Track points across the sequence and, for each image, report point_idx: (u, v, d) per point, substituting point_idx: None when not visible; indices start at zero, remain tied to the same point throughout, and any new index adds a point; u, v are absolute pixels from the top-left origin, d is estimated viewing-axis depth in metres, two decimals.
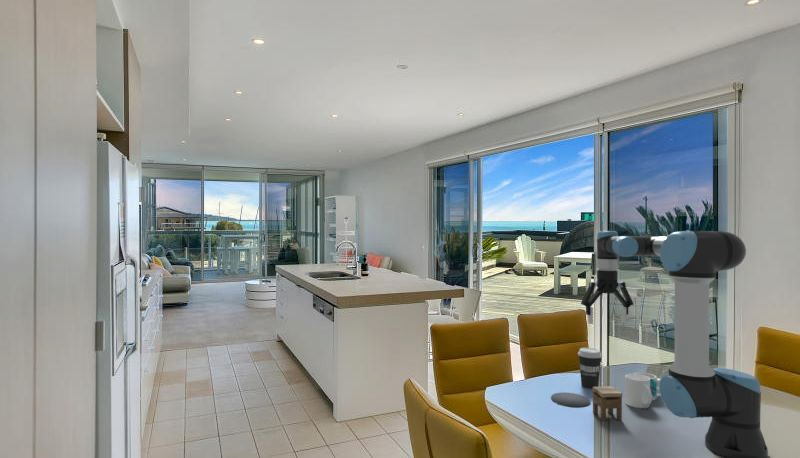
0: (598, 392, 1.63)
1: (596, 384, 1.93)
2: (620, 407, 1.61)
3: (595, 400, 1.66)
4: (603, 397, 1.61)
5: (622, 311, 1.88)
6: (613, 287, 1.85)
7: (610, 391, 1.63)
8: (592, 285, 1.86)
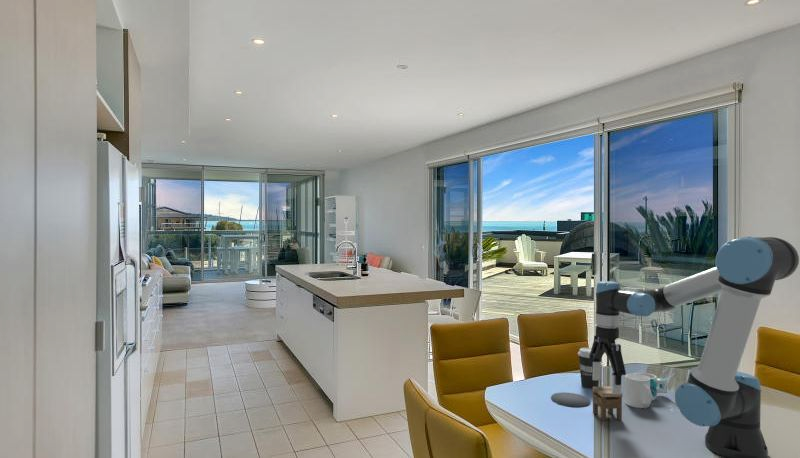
0: (598, 392, 1.63)
1: (596, 384, 1.93)
2: (620, 407, 1.61)
3: (595, 400, 1.66)
4: (603, 397, 1.61)
5: None
6: (603, 346, 1.63)
7: (610, 391, 1.63)
8: (594, 338, 1.71)
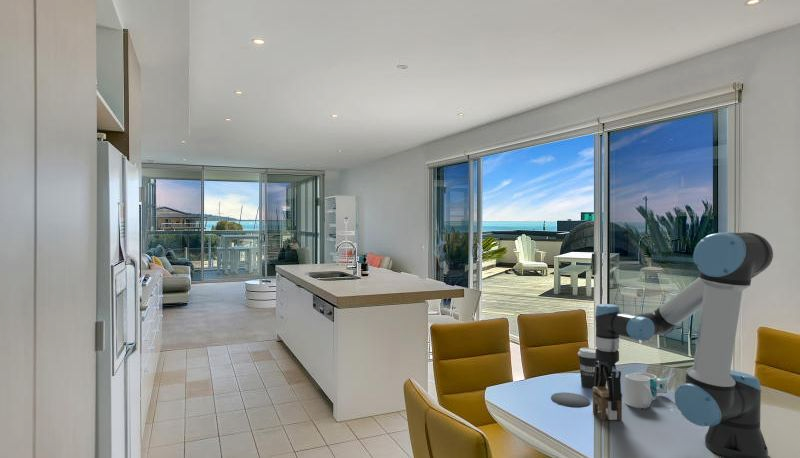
0: (598, 392, 1.63)
1: None
2: (620, 407, 1.61)
3: (595, 400, 1.66)
4: (603, 397, 1.61)
5: None
6: (603, 370, 1.63)
7: None
8: (595, 364, 1.70)
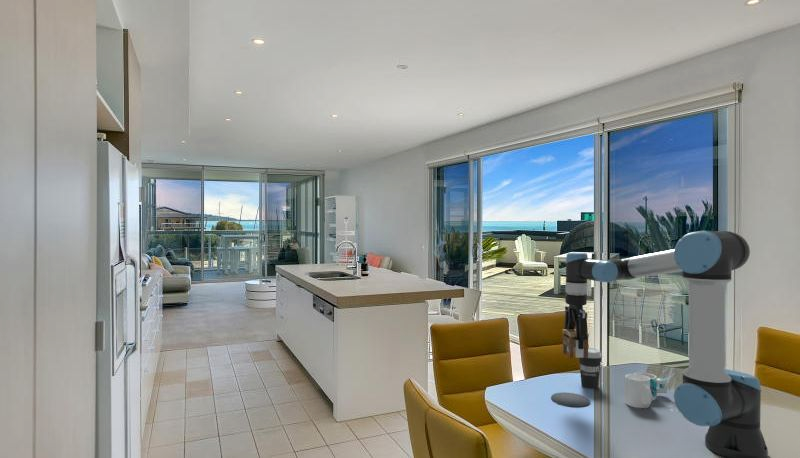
0: (567, 333, 1.77)
1: (596, 384, 1.93)
2: (587, 346, 1.74)
3: (564, 341, 1.79)
4: (571, 337, 1.74)
5: None
6: (572, 312, 1.76)
7: None
8: (565, 309, 1.84)
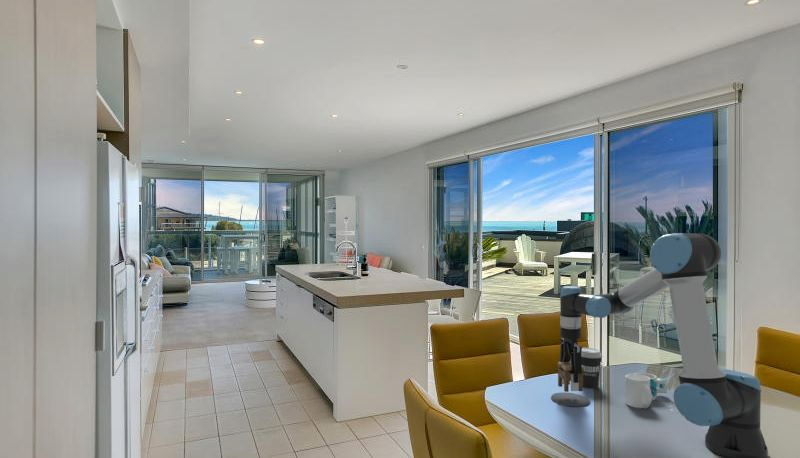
0: (562, 366, 1.79)
1: (596, 384, 1.93)
2: (581, 379, 1.77)
3: (560, 374, 1.81)
4: (566, 370, 1.76)
5: None
6: (567, 346, 1.78)
7: None
8: (560, 342, 1.86)
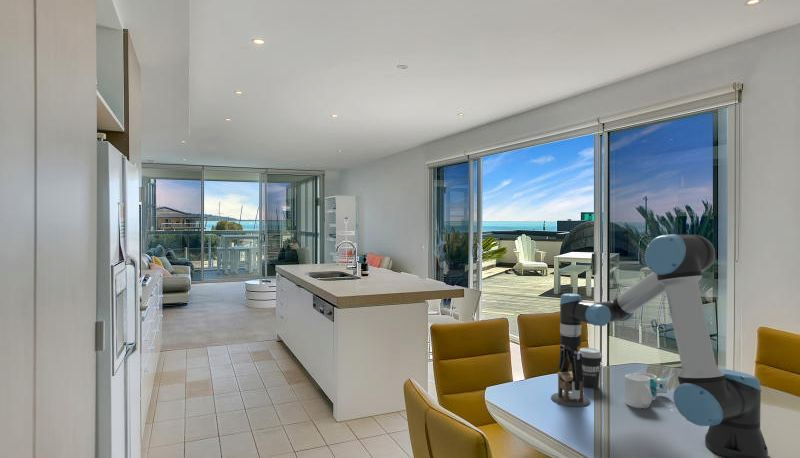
0: (562, 376, 1.79)
1: (596, 384, 1.93)
2: (582, 390, 1.77)
3: (560, 384, 1.81)
4: (566, 381, 1.76)
5: None
6: (567, 353, 1.78)
7: None
8: (560, 348, 1.86)
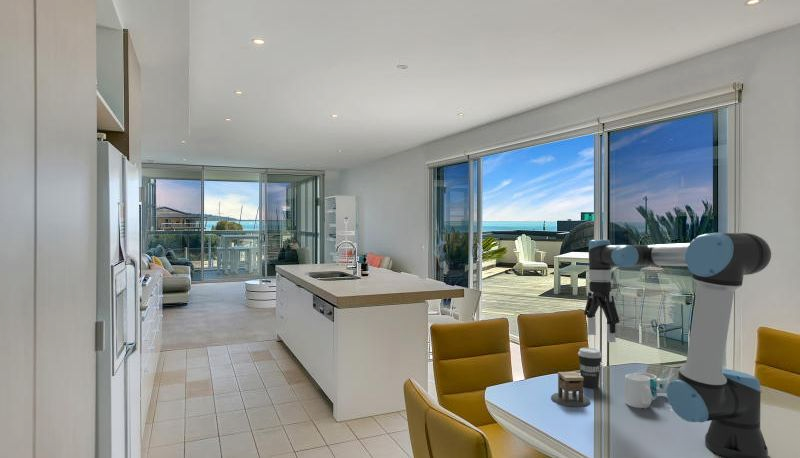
0: (562, 376, 1.79)
1: (596, 384, 1.93)
2: (582, 390, 1.77)
3: (560, 384, 1.81)
4: (566, 381, 1.76)
5: None
6: (597, 300, 1.74)
7: (573, 375, 1.79)
8: (588, 295, 1.82)
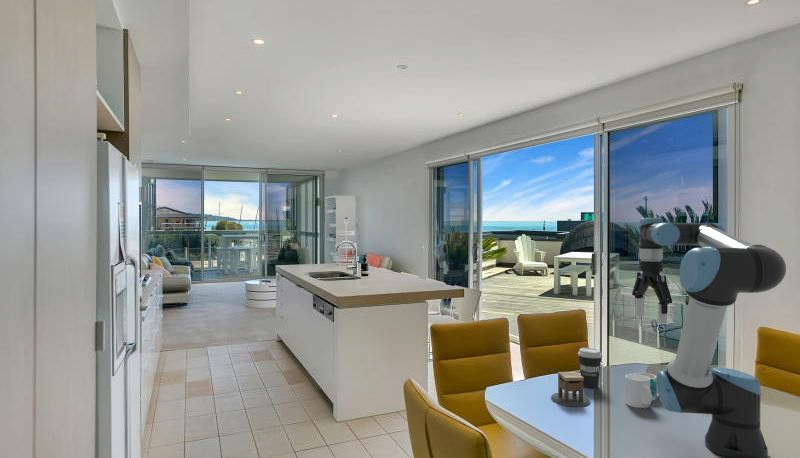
0: (562, 376, 1.79)
1: (596, 384, 1.93)
2: (582, 390, 1.77)
3: (560, 384, 1.81)
4: (566, 381, 1.76)
5: None
6: (648, 279, 1.69)
7: (573, 375, 1.79)
8: (637, 275, 1.77)
